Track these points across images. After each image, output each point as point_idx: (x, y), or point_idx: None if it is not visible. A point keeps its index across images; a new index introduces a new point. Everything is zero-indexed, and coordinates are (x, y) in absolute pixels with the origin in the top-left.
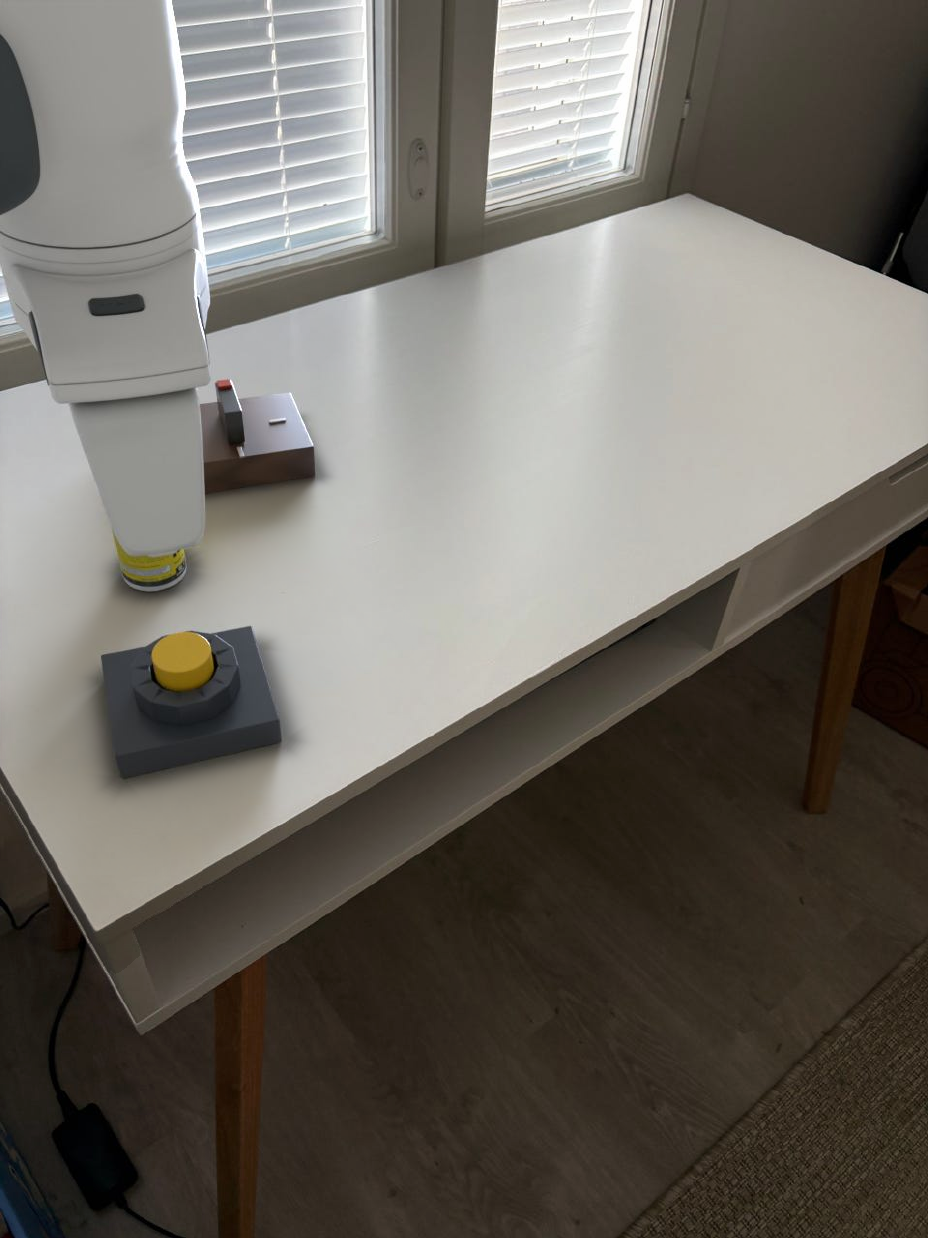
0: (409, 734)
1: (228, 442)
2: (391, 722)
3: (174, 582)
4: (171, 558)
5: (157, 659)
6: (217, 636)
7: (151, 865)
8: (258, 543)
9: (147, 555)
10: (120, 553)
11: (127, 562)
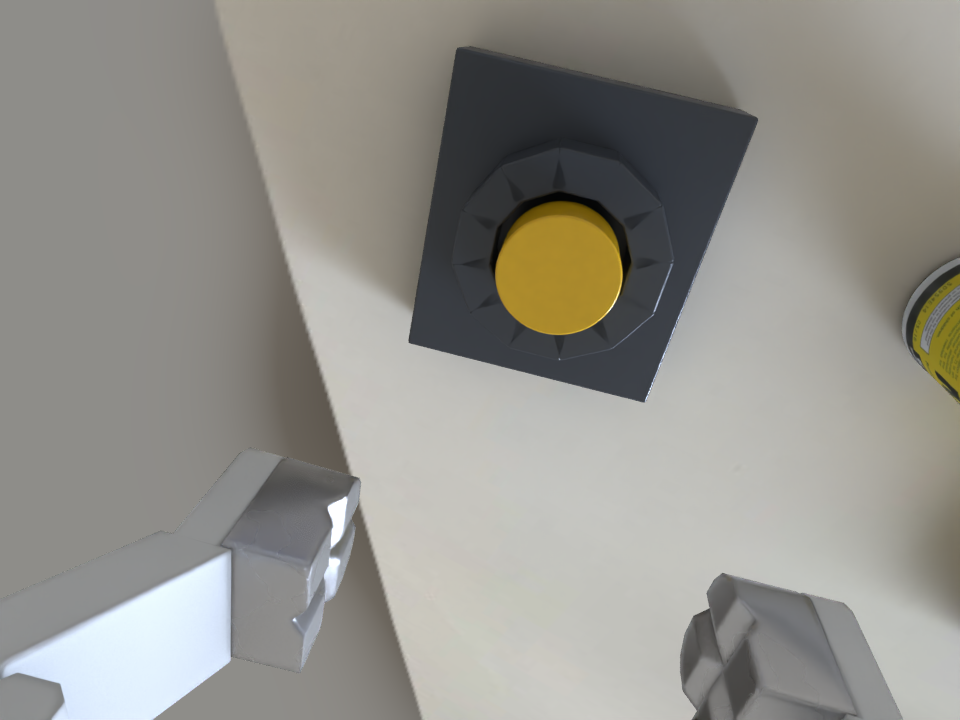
0: (359, 462)
1: None
2: (389, 456)
3: (903, 333)
4: (935, 365)
5: (562, 226)
6: (605, 350)
7: (269, 32)
8: (892, 495)
9: (250, 448)
10: None
11: None
